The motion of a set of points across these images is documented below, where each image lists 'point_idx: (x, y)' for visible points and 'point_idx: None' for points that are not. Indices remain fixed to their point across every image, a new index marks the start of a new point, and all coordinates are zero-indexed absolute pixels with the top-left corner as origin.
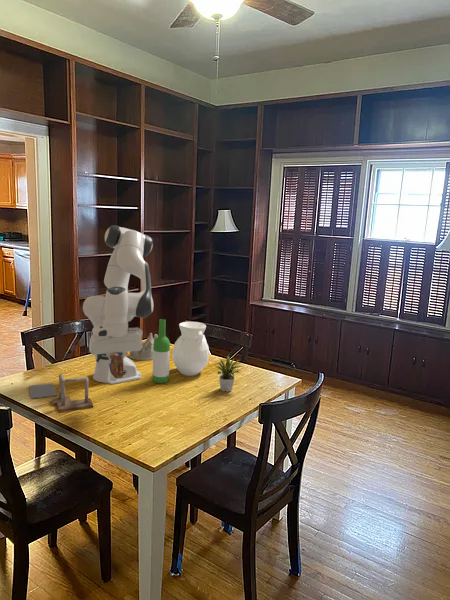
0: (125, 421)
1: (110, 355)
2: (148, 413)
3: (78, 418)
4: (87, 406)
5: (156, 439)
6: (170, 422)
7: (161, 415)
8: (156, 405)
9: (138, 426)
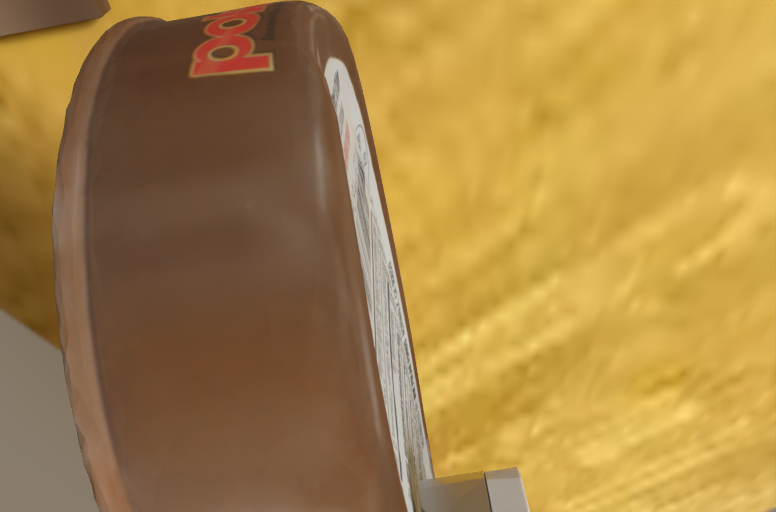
0: (411, 308)
1: (108, 229)
2: (617, 211)
3: (30, 218)
4: (44, 26)
5: (551, 498)
6: (712, 355)
7: (702, 256)
8: (754, 59)
9: (488, 377)
